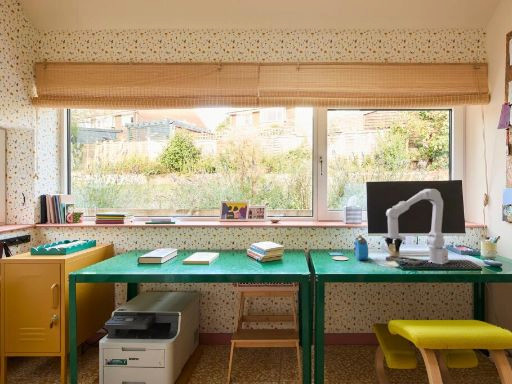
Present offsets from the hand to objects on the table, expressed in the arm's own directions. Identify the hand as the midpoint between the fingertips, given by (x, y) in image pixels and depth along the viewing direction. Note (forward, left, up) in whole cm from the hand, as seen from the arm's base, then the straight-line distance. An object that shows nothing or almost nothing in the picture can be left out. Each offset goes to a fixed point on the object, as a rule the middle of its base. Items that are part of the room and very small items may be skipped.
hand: (394, 251), depth 212 cm
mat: (0, 0, -8) cm, 8 cm away
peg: (0, 0, -3) cm, 3 cm away
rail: (0, -9, -8) cm, 12 cm away
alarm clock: (+22, +3, -8) cm, 24 cm away
